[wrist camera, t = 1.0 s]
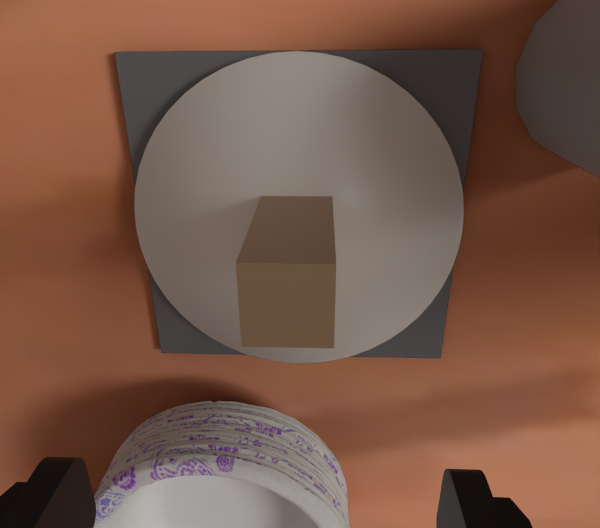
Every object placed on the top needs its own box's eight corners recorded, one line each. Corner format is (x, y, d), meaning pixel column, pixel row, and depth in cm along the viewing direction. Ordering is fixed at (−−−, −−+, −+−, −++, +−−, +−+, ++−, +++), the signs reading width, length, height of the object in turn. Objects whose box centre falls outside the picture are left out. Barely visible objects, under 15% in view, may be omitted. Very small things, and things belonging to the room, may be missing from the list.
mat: (479, 49, 23) (483, 49, 22) (438, 353, 30) (440, 358, 29) (118, 52, 23) (114, 52, 23) (163, 348, 31) (161, 352, 30)
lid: (483, 49, 22) (572, 58, 14) (440, 358, 29) (483, 478, 22) (114, 52, 23) (3, 61, 15) (161, 352, 30) (103, 467, 22)
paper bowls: (208, 325, 30) (171, 417, 23) (391, 448, 33) (409, 562, 26) (89, 462, 35) (29, 571, 28) (258, 555, 39) (243, 673, 32)
